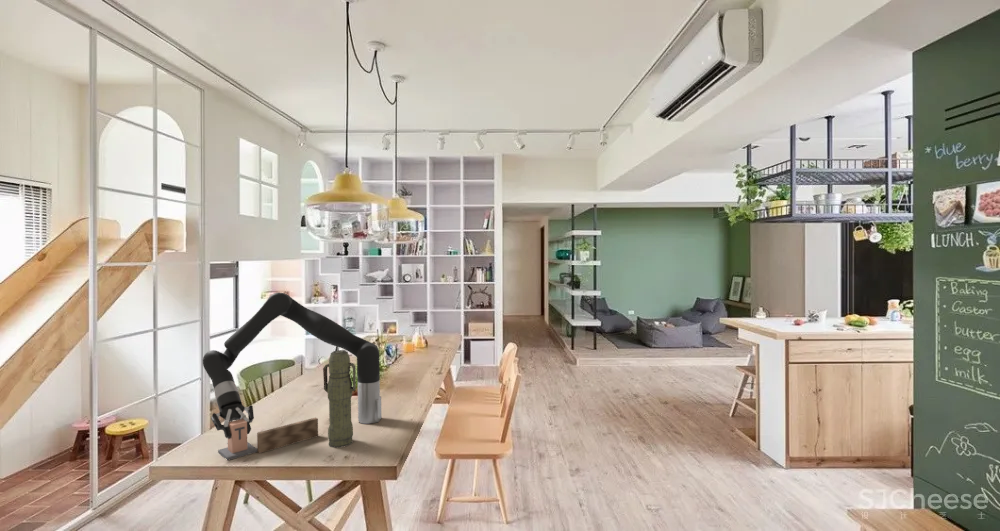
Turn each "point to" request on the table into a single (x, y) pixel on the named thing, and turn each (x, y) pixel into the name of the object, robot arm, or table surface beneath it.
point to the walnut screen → (287, 434)
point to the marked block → (237, 436)
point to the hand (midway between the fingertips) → (239, 435)
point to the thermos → (339, 398)
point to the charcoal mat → (229, 455)
